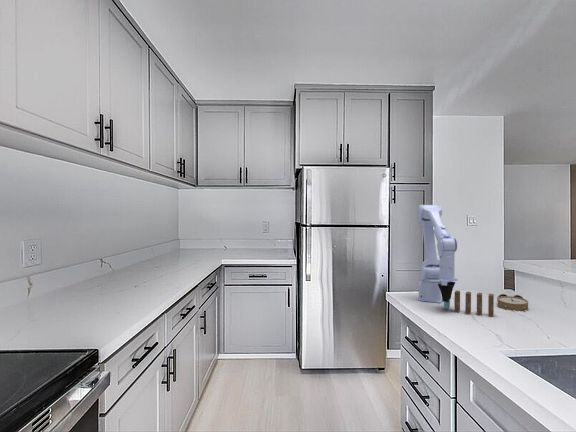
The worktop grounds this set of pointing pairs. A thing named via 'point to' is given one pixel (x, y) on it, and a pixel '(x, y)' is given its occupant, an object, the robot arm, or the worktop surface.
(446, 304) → the teal domino
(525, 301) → the alarm clock
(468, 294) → the domino
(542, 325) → the worktop surface
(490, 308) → the domino
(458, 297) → the domino
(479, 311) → the domino
